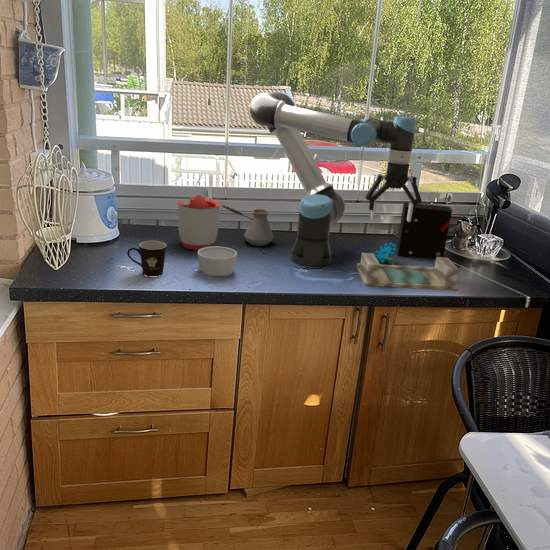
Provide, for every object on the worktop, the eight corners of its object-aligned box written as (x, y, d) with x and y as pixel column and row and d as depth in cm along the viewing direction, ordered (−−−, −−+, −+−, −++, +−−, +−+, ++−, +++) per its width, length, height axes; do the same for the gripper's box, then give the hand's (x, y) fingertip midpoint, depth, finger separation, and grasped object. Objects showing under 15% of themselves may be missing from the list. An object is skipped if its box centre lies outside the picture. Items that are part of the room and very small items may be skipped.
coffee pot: (270, 238, 232) (273, 202, 226) (274, 247, 221) (277, 210, 216) (218, 237, 228) (219, 201, 222) (220, 246, 217) (221, 208, 212)
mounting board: (364, 285, 191) (367, 265, 188) (356, 268, 206) (358, 249, 203) (457, 290, 193) (461, 270, 191) (442, 273, 208) (445, 254, 206)
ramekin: (189, 273, 189) (190, 254, 187) (208, 262, 201) (209, 243, 198) (225, 281, 185) (226, 261, 183) (242, 269, 197) (243, 250, 194)
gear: (369, 253, 218) (390, 237, 216) (377, 263, 221) (398, 247, 219) (377, 267, 209) (399, 250, 206) (385, 277, 211) (407, 261, 209)
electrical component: (438, 253, 231) (448, 205, 223) (443, 261, 221) (453, 211, 214) (395, 248, 232) (403, 200, 225) (398, 256, 222) (406, 207, 215)
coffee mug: (170, 272, 189) (171, 243, 185) (157, 280, 181) (157, 251, 178) (140, 265, 192) (140, 237, 189) (126, 274, 185) (125, 244, 181)
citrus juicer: (193, 236, 227) (195, 186, 220) (226, 246, 218) (229, 195, 211) (165, 244, 215) (165, 192, 208) (199, 255, 206) (200, 202, 199)
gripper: (366, 161, 196) (358, 221, 204) (436, 166, 198) (426, 224, 206) (362, 158, 203) (354, 215, 211) (430, 162, 205) (420, 219, 213)
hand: (390, 220), depth 208 cm, fingers open, 13 cm apart
